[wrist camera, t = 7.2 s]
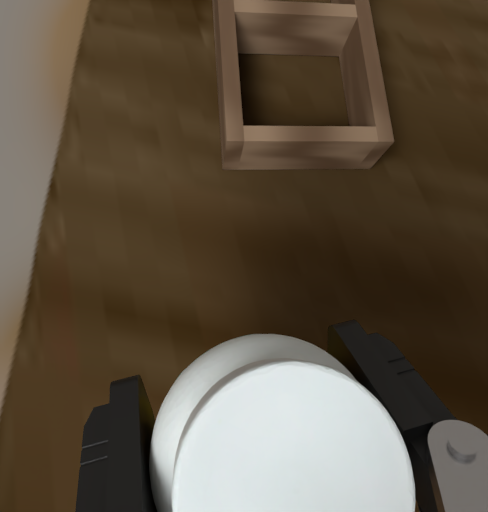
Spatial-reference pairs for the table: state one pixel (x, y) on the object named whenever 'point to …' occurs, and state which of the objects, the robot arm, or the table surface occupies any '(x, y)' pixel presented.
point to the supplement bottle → (276, 435)
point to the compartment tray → (312, 44)
